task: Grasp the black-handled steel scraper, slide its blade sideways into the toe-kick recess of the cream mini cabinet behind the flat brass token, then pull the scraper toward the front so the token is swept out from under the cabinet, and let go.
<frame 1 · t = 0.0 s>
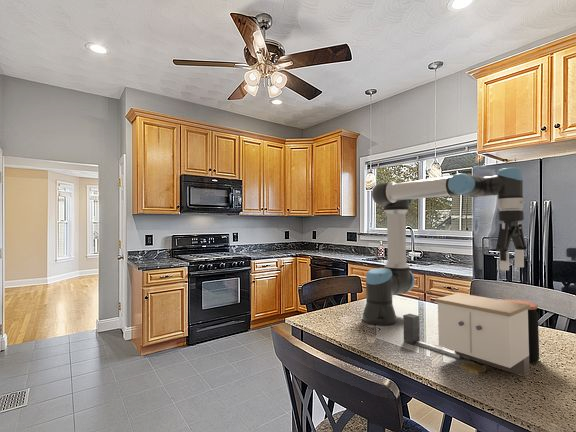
hand: (512, 268, 116), 28 cm above the table, fingers open, 13 cm apart
coffee jar: (518, 358, 105), on the table
steel scraper: (411, 342, 119), on the table
brass token: (472, 370, 97), on the table
toe-kick cabinet: (482, 366, 98), on the table
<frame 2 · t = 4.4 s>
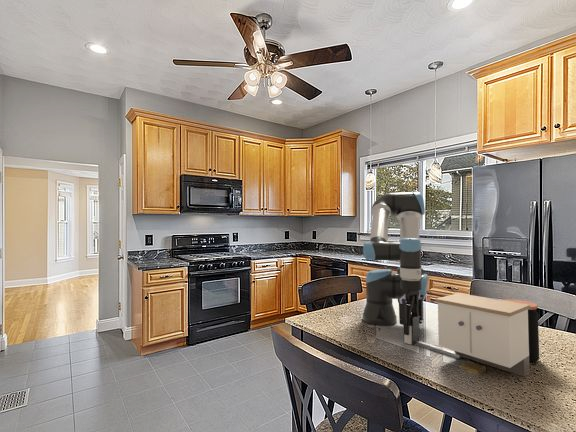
hand: (411, 341, 119), 0 cm above the table, fingers closed on steel scraper, 4 cm apart
steel scraper: (411, 342, 119), on the table, touching gripper
everything else where it was.
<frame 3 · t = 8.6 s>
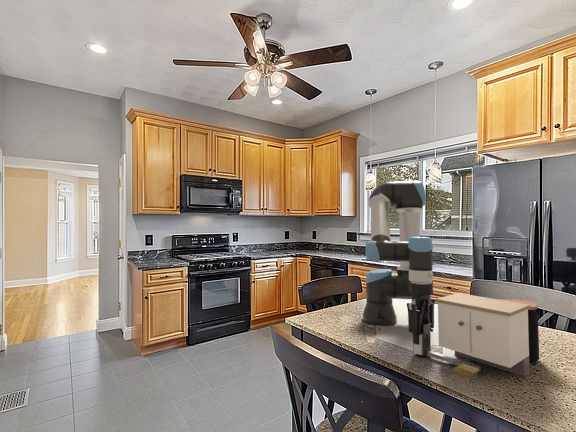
hand: (422, 351, 107), 1 cm above the table, fingers closed on steel scraper, 4 cm apart
steel scraper: (421, 352, 107), point 1 cm above the table, touching gripper
brass token: (464, 375, 93), on the table
everything else where it was.
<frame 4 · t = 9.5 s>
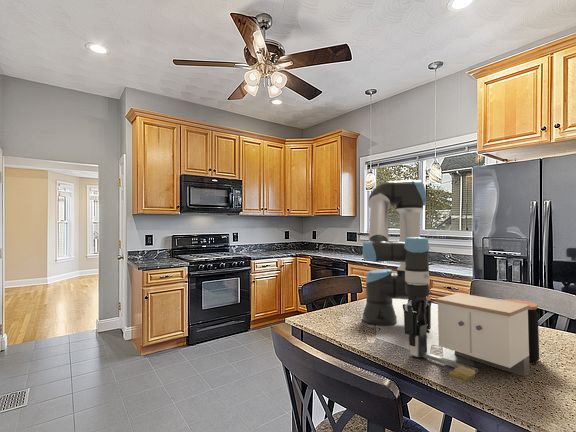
hand: (418, 353, 106), 1 cm above the table, fingers closed on steel scraper, 4 cm apart
steel scraper: (418, 354, 106), point 1 cm above the table, touching gripper
brass token: (461, 378, 92), on the table
everything else where it was.
when the fingers open (0 cm above the table, at t = 10.3 s): steel scraper stays where it is, on the table.
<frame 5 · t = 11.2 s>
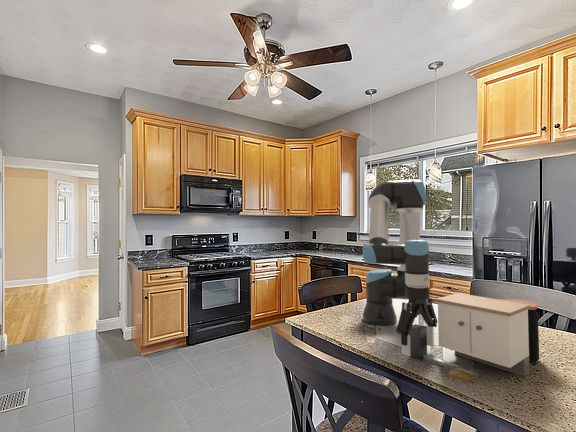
hand: (418, 350, 106), 2 cm above the table, fingers open, 13 cm apart
steel scraper: (418, 356, 106), on the table
everything else where it was.
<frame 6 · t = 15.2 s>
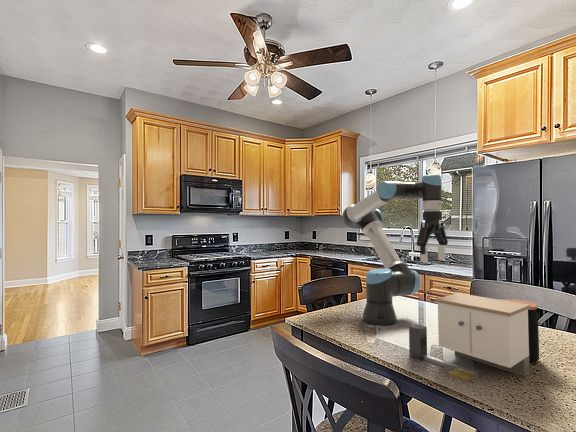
hand: (433, 261, 135), 29 cm above the table, fingers open, 13 cm apart
nothing on the table moved.
at the end: brass token inside the target area (2.0 cm from its centre), on the table; the gripper is holding nothing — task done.
